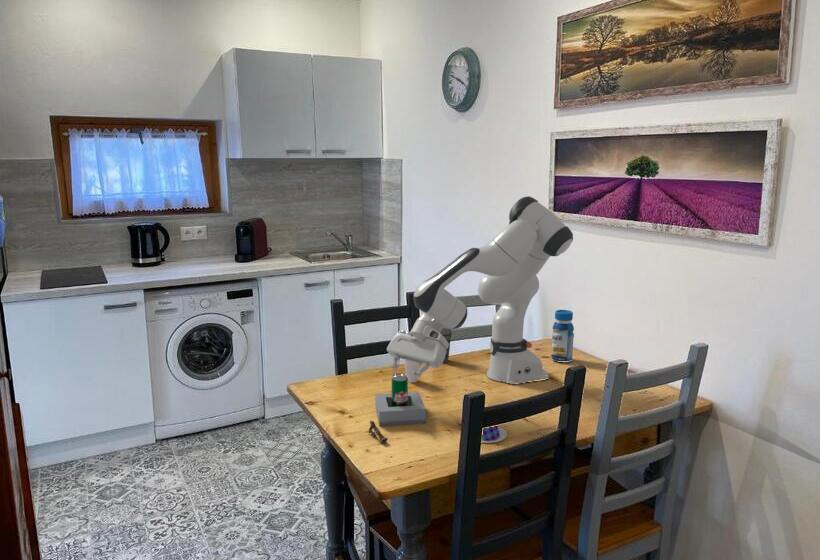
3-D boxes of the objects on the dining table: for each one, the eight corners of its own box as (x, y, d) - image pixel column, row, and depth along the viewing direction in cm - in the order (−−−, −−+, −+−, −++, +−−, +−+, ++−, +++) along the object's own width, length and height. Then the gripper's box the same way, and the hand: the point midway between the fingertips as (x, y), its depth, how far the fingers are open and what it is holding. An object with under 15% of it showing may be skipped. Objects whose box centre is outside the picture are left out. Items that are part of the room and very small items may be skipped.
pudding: (476, 423, 182) (476, 407, 181) (513, 432, 176) (513, 415, 175) (457, 438, 172) (458, 421, 171) (496, 448, 166) (496, 431, 165)
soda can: (394, 416, 184) (393, 378, 181) (389, 409, 188) (389, 373, 186) (409, 414, 185) (409, 377, 183) (405, 407, 190) (405, 371, 187)
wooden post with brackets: (370, 428, 176) (373, 417, 173) (384, 448, 171) (387, 437, 168) (365, 430, 175) (368, 419, 172) (379, 450, 170) (382, 439, 167)
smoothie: (413, 385, 212) (413, 347, 210) (399, 381, 216) (399, 344, 213) (424, 380, 217) (424, 342, 215) (410, 376, 221) (410, 339, 218)
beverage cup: (448, 364, 233) (449, 315, 230) (430, 362, 236) (431, 313, 232) (453, 359, 240) (454, 310, 236) (436, 357, 243) (436, 309, 239)
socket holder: (418, 404, 195) (418, 391, 194) (425, 423, 181) (425, 409, 181) (375, 407, 193) (375, 394, 192) (379, 425, 180) (379, 411, 179)
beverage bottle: (576, 363, 235) (579, 313, 232) (556, 364, 234) (558, 314, 230) (566, 356, 243) (568, 308, 240) (547, 357, 242) (549, 309, 238)
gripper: (394, 324, 198) (375, 360, 193) (445, 335, 186) (426, 374, 180) (403, 334, 203) (384, 369, 197) (453, 346, 190) (435, 384, 185)
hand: (405, 372), depth 189 cm, fingers open, 8 cm apart
